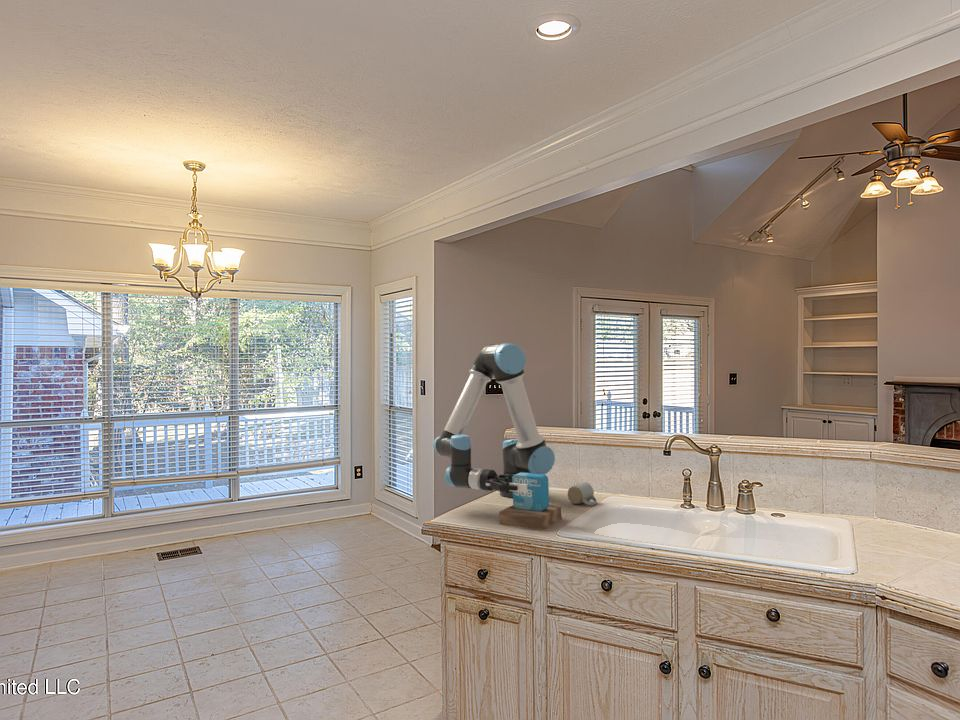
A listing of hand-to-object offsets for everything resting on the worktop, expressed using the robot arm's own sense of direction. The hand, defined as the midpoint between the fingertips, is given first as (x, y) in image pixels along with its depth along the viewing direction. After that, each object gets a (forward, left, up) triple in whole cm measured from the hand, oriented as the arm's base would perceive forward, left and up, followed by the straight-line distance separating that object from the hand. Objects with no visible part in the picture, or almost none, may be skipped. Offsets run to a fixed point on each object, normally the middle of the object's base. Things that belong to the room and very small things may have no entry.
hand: (536, 484), depth 211 cm
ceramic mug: (-32, +4, -13) cm, 35 cm away
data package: (0, -2, -9) cm, 9 cm away
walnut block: (0, -2, -14) cm, 14 cm away
